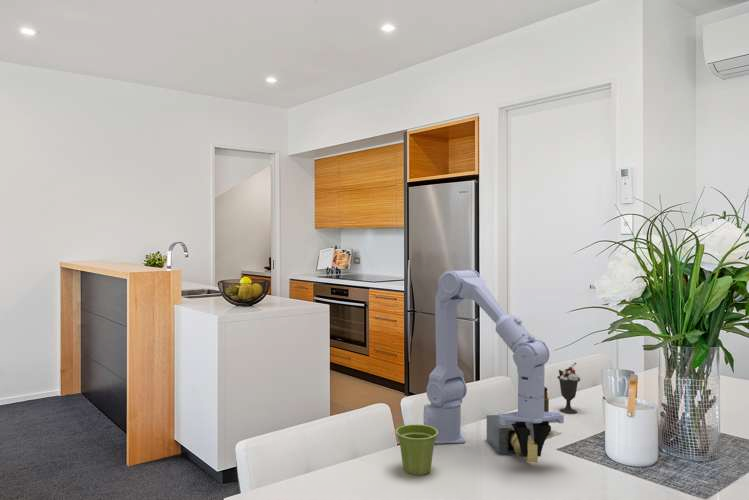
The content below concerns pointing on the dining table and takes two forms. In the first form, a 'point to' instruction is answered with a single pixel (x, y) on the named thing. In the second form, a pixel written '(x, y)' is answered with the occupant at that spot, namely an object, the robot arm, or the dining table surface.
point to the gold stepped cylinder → (515, 444)
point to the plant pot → (416, 447)
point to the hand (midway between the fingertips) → (530, 455)
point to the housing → (502, 435)
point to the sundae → (568, 387)
